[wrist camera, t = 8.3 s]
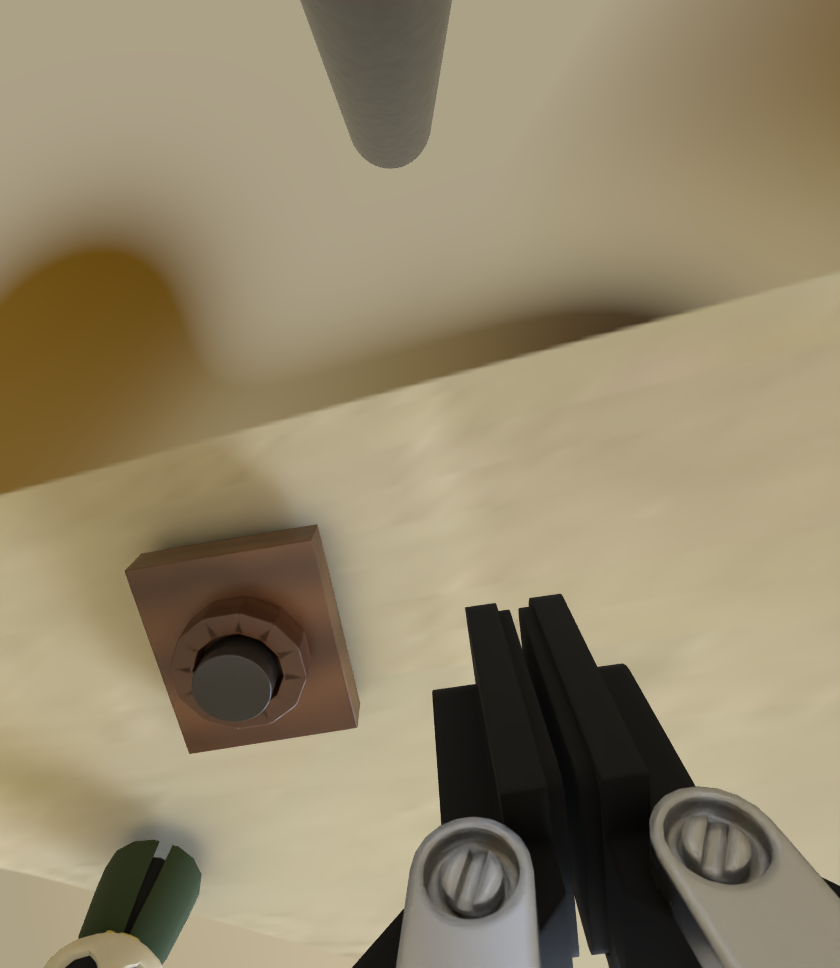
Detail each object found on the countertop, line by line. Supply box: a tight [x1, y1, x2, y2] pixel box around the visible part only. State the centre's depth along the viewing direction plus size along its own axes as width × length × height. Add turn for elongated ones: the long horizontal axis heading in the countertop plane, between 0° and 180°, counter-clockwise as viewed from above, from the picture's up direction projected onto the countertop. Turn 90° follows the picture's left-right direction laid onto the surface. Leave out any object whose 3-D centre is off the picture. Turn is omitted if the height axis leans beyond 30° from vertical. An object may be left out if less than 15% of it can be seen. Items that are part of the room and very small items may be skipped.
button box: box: [125, 525, 360, 754], centre depth 34 cm, size 12×10×4 cm
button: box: [191, 636, 278, 722], centre depth 31 cm, size 4×4×2 cm
